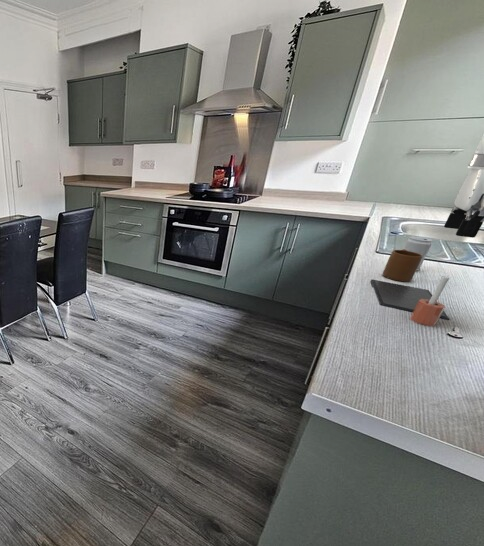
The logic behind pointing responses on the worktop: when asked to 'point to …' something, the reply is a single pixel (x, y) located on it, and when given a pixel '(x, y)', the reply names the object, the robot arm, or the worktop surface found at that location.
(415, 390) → the worktop surface
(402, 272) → the mug
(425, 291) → the plate
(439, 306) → the pen pot
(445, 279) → the stylus
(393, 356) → the worktop surface
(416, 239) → the beverage can
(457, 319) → the worktop surface
